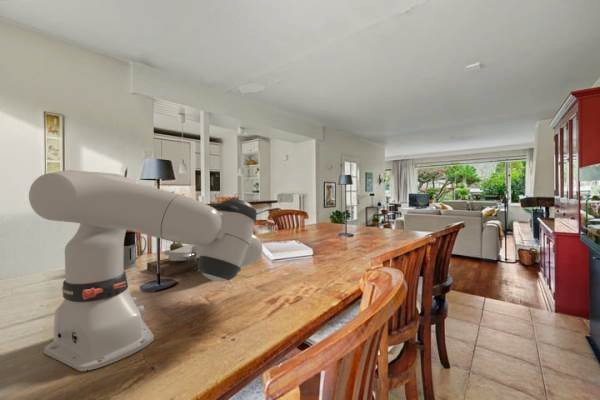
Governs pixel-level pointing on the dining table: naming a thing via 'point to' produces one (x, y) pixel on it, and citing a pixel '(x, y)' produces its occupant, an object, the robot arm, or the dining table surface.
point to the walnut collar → (172, 267)
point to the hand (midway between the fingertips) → (172, 250)
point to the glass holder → (131, 250)
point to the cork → (173, 247)
